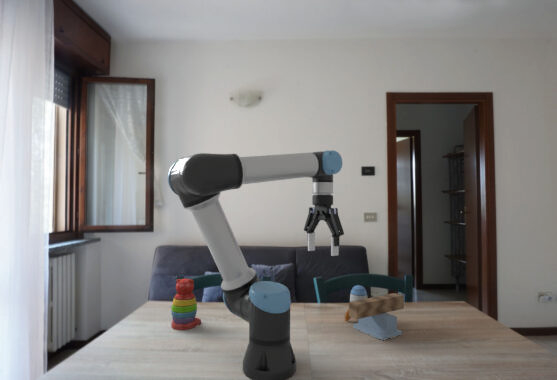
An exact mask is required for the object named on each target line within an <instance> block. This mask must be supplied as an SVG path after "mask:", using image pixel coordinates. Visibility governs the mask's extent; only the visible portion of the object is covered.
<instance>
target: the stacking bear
mask: <svg viewBox="0 0 557 380" xmlns="http://www.w3.org/2000/svg"><path fill="white" fill-rule="evenodd" d="M194 288H195V281H194V280H193V278H190V279H189V278H178V279H176V285H175V290H176V294H174V297H173V301H172V304H171V311H170V312H171V318H172V321H171V324H170V325H171V328H172V329H173V330H177V331H186V330H191V329H194V328H196V327H198V326H200V324H201V323H202V320H201V318H199V317H197V312H198V304H197V300H196V296H195V294H194V293H193V291H194Z"/></svg>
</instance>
